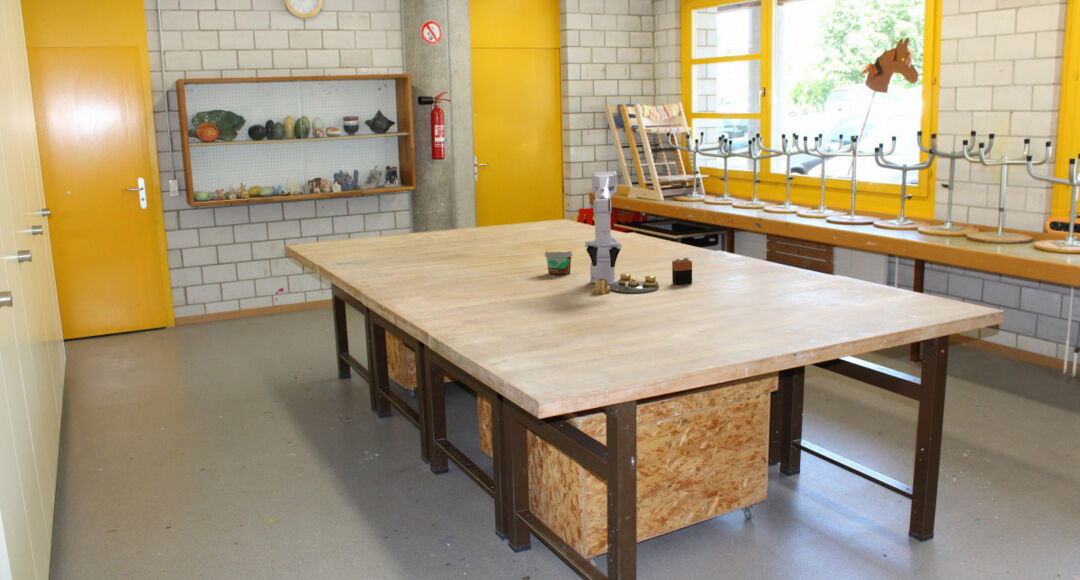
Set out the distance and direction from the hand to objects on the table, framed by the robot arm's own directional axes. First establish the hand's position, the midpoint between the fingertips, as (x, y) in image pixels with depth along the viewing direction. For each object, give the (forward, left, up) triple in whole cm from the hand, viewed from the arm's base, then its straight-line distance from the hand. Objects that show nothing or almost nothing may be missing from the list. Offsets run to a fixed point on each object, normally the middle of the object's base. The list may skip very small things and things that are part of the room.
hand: (603, 266), depth 337 cm
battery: (+20, +26, -10) cm, 35 cm away
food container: (-36, +23, -10) cm, 44 cm away
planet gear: (-1, -1, -10) cm, 10 cm away
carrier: (+7, +11, -10) cm, 16 cm away
